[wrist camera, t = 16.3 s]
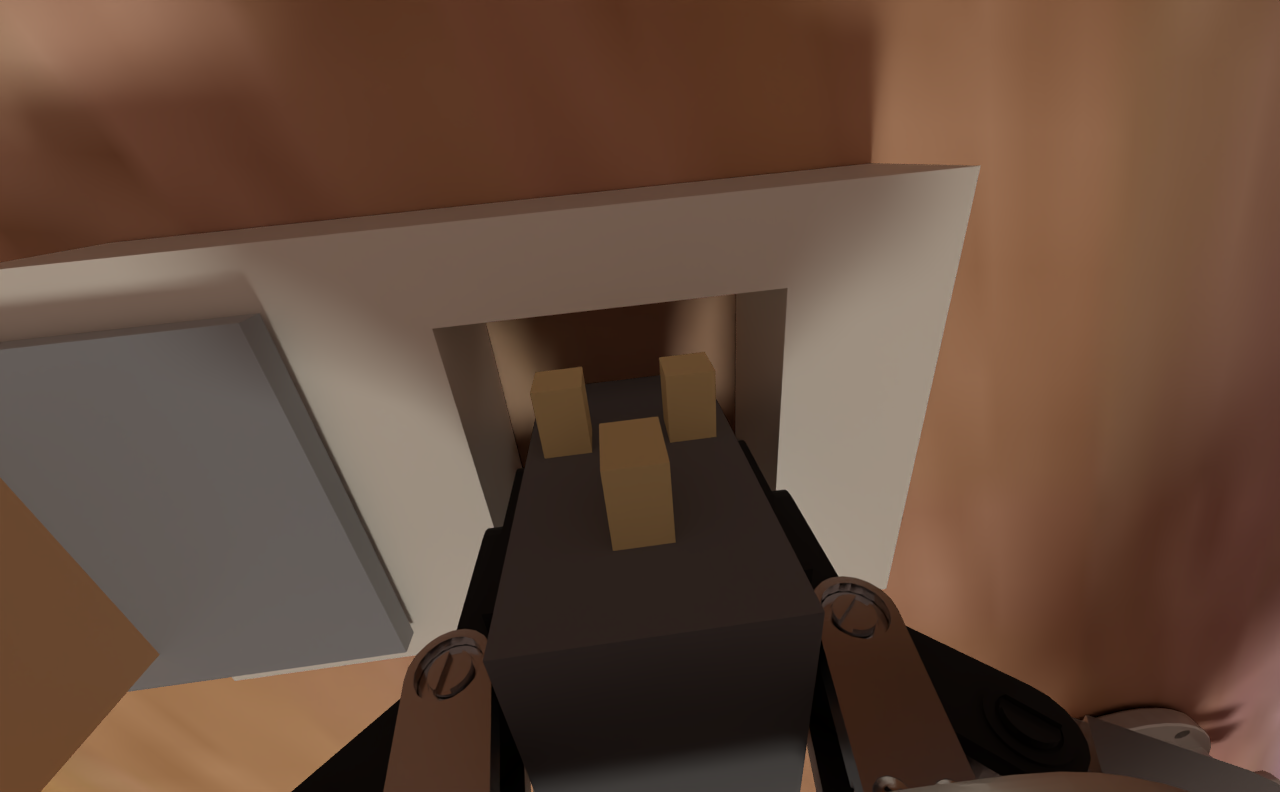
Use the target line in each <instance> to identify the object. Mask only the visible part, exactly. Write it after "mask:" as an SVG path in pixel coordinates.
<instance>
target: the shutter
mask: <svg viewBox="0 0 1280 792" xmlns="http://www.w3.org/2000/svg"><path fill="white" fill-rule="evenodd" d="M413 634H414V632H413V630H412V628H411V625H410V623H409V621H408V619H407V617H406V615H405V613H404V611H403V609H402V607H401V605H400V603H399V601H398V599H397V597H396V594H395V592H394V590H393V588H392V586H391V584H390V582H389V580H388V578H387V576H386V574H385V572H384V570H383V568H382V566H381V563H380V561H379V559H378V557H377V555H376V553H375V551H374V549H373V547H372V545H371V543H370V541H369V539H368V537H367V534H366V532H365V530H364V528H363V526H362V524H361V522H360V520H359V518H358V516H357V514H356V512H355V510H354V508H353V506H352V503H351V501H350V499H349V497H348V495H347V493H346V491H345V489H344V487H343V485H342V483H341V481H340V479H339V477H338V475H337V472H336V470H335V468H334V466H333V464H332V462H331V460H330V458H329V456H328V454H327V452H326V450H325V448H324V446H323V443H322V441H321V439H320V437H319V435H318V433H317V431H316V429H315V427H314V425H313V423H312V421H311V419H310V417H309V415H308V412H307V410H306V408H305V406H304V404H303V402H302V400H301V398H300V396H299V394H298V392H297V390H296V388H295V386H294V383H293V381H292V379H291V377H290V375H289V373H288V371H287V369H286V367H285V365H284V363H283V361H282V359H281V357H280V355H279V352H278V350H277V348H276V346H275V344H274V342H273V340H272V338H271V336H270V334H269V332H268V330H267V328H266V326H265V324H264V321H263V319H262V317H261V315H260V313H256V314H247V315H238V316H229V317H220V318H212V319H203V320H194V321H185V322H176V323H167V324H158V325H149V326H140V327H131V328H122V329H113V330H104V331H95V332H86V333H77V334H68V335H59V336H50V337H41V338H32V339H23V340H14V341H5V342H0V792H41V790H42V789H43V788H44V787H45V786H46V785H47V784H48V782H49V781H50V780H51V779H52V778H53V777H54V776H55V774H56V773H57V772H58V771H59V770H60V769H61V767H62V766H63V765H64V764H65V763H66V762H67V761H68V759H69V758H70V757H71V756H72V755H73V754H74V753H75V751H76V750H77V749H78V748H79V747H80V746H81V744H82V743H83V742H84V741H85V740H86V739H87V738H88V736H89V735H90V734H91V733H92V732H93V731H94V730H95V728H96V727H97V726H98V725H99V724H100V723H101V721H102V720H103V719H104V718H105V717H106V716H107V715H108V713H109V712H110V711H111V710H112V709H113V708H114V707H115V705H116V704H117V703H118V702H119V701H120V700H121V698H122V697H123V696H124V695H125V694H126V693H127V692H128V691H136V690H143V689H150V688H157V687H164V686H171V685H178V684H185V683H192V682H199V681H206V680H214V679H221V678H228V677H235V676H242V675H249V674H256V673H263V672H270V671H277V670H284V669H291V668H299V667H306V666H313V665H320V664H327V663H334V662H341V661H348V660H355V659H362V658H369V657H376V656H384V655H391V654H398V653H405V652H407V650H408V647H409V644H410V642H411V639H412V636H413Z"/></svg>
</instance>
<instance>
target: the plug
mask: <svg viewBox="0 0 1280 792" xmlns="http://www.w3.org/2000/svg"><path fill="white" fill-rule="evenodd" d="M659 365H660V375H658V376H650V377H641V378H633V379H625V380H617V381H608V382H600V383H592V384H585V381H584V375H583V369H582V367H575V368H567V369H558V370H550V371H542V372H535V376H534V380H533V384H532V388H531V391H530V395H531V400H532V404H533V409H534V413H535V423H534V427H533V432H532V437H531V441H530V446H529V451H528V455H527V460H526V464H525V469H524V474H523V478H522V483H521V487H520V492H519V497H518V501H517V506H516V510H515V515H514V520H513V524H512V529H511V533H510V538H509V543H508V547H507V552H506V556H505V561H504V566H503V570H502V575H501V579H500V584H499V589H498V593H497V598H496V602H495V607H494V612H493V616H492V621H491V625H490V630H489V635H488V639H487V644H486V648H485V653H484V658H483V663H484V666H485V668H486V671H487V673H488V676H489V678H490V681H491V683H492V686H493V688H494V691H495V693H496V696H497V699H498V701H499V704H500V706H501V709H502V711H503V714H504V716H505V719H506V721H507V724H508V726H509V729H510V731H511V734H512V736H513V739H514V741H515V744H516V746H517V749H518V751H519V754H520V756H521V759H522V761H523V764H524V766H525V769H526V771H527V774H528V776H529V779H530V781H531V784H532V787H533V789H534V792H800V788H801V781H802V774H803V767H804V760H805V753H806V745H807V738H808V731H809V724H810V717H811V710H812V702H813V695H814V688H815V681H816V674H817V667H818V660H819V652H820V645H821V638H822V631H823V624H824V617H825V611H824V609H823V607H822V605H821V603H820V601H819V599H818V597H817V595H816V593H815V592H814V590H813V588H812V586H811V584H810V582H809V580H808V578H807V576H806V574H805V572H804V570H803V568H802V566H801V564H800V562H799V560H798V558H797V556H796V554H795V552H794V550H793V548H792V546H791V545H790V543H789V541H788V539H787V537H786V535H785V533H784V531H783V529H782V527H781V525H780V523H779V521H778V519H777V517H776V515H775V513H774V511H773V509H772V507H771V505H770V503H769V501H768V499H767V498H766V496H765V494H764V492H763V490H762V488H761V486H760V484H759V482H758V480H757V478H756V476H755V474H754V472H753V470H752V468H751V466H750V464H749V462H748V460H747V458H746V456H745V454H744V453H743V451H742V449H741V447H740V445H739V443H738V441H737V439H736V437H735V435H734V433H733V431H732V429H731V427H730V425H729V423H728V421H727V419H726V417H725V415H724V413H723V411H722V409H721V407H720V406H719V404H718V402H717V400H716V384H715V369H714V368H713V366H712V364H711V362H710V361H709V359H708V357H707V355H706V354H705V352H700V353H692V354H683V355H675V356H667V357H659Z"/></svg>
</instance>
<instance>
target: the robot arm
mask: <svg viewBox="0 0 1280 792" xmlns="http://www.w3.org/2000/svg"><path fill="white" fill-rule="evenodd" d="M738 443H739V445H740V447H741V449H742V451H743V453H744V454H745V456H746V458H747V460H748V462H749V464H750V466H751V468H752V470H753V472H754V474H755V476H756V478H757V480H758V482H759V484H760V486H761V488H762V490H763V492H764V494H765V496H766V498H767V499H768V501H769V503H770V505H771V507H772V509H773V511H774V513H775V515H776V517H777V519H778V521H779V523H780V525H781V527H782V529H783V531H784V533H785V535H786V537H787V539H788V541H789V543H790V545H791V546H792V548H793V550H794V552H795V554H796V556H797V558H798V560H799V562H800V564H801V566H802V568H803V570H804V572H805V574H806V576H807V578H808V580H809V582H810V584H811V586H812V588H813V590H814V592H815V593H816V595H817V597H818V599H819V601H820V603H821V605H822V607H823V609H824V611H825V617H824V624H823V631H822V638H821V645H820V652H819V660H818V667H817V674H816V681H815V688H814V695H813V702H812V710H811V717H810V724H809V731H808V738H807V748H808V753H809V758H810V762H811V767H812V772H813V777H814V782H815V787H816V792H1280V780H1279V779H1277V778H1276V777H1275V776H1273V775H1272V774H1271V773H1268V772H1266V771H1263V770H1261V771H1255V772H1252V771H1249V770H1246V769H1243V768H1240V767H1238V766H1235V765H1232V764H1229V763H1226V762H1223V761H1220V760H1217V759H1214V758H1212V757H1211V756H1210V755H1209V752H1210V748H1211V743H1210V737H1209V736H1208V734H1207V733H1206V732H1205V731H1204V730H1203V729H1202V728H1201V727H1200V726H1199V725H1198V724H1197V723H1196V722H1195V721H1194V720H1192V719H1191V718H1190V717H1189V716H1187V715H1186V714H1185V713H1182V712H1178V711H1175V710H1172V709H1164V708H1138V709H1132V710H1126V711H1120V712H1116V713H1112V714H1108V715H1104V716H1100V717H1097V718H1094V717H1091V716H1088V715H1086V716H1085V717H1084V719H1083V720H1082V721H1081V720H1079V719H1076V718H1073V717H1071V716H1070V715H1069V714H1068V713H1067V712H1066V711H1065V710H1064V709H1063V708H1062V707H1061V706H1060V705H1058V704H1057V703H1056V702H1055V701H1054V700H1052V699H1051V698H1050V697H1049V696H1047V695H1045V694H1044V693H1042V692H1040V691H1039V690H1037V689H1035V688H1033V687H1032V686H1030V685H1028V684H1026V683H1024V682H1022V681H1019V680H1017V679H1015V678H1013V677H1011V676H1009V675H1007V674H1005V673H1003V672H1001V671H999V670H997V669H995V668H992V667H990V666H988V665H986V664H984V663H982V662H980V661H978V660H976V659H974V658H972V657H970V656H967V655H965V654H963V653H961V652H959V651H957V650H955V649H953V648H951V647H949V646H947V645H945V644H943V643H940V642H938V641H936V640H934V639H932V638H930V637H928V636H926V635H924V634H922V633H920V632H918V631H915V630H913V629H911V628H909V627H907V626H906V625H905V623H904V621H903V619H902V617H901V615H900V612H899V610H898V609H897V607H896V606H895V604H894V602H893V601H892V599H891V598H890V597H889V596H888V595H886V594H885V593H884V592H883V591H882V590H881V589H879V588H878V587H876V586H874V585H873V584H871V583H869V582H867V581H864V580H861V579H858V578H854V577H846V576H840V577H839V576H838V575H837V573H836V571H835V569H834V568H833V566H832V564H831V563H830V561H829V559H828V558H827V556H826V554H825V552H824V551H823V549H822V547H821V546H820V544H819V542H818V540H817V539H816V537H815V535H814V534H813V532H812V530H811V528H810V527H809V525H808V523H807V522H806V520H805V518H804V517H803V515H802V513H801V511H800V510H799V508H798V506H797V505H796V503H795V501H794V499H793V498H792V496H791V495H790V493H789V492H788V491H787V490H785V489H784V490H776V491H771V489H770V487H769V485H768V483H767V481H766V479H765V477H764V476H763V474H762V472H761V470H760V468H759V466H758V464H757V463H756V461H755V459H754V457H753V455H752V453H751V451H750V449H749V448H748V446H747V444H746V442H745V441H744V440H740V441H738ZM524 469H525V468H519V469H517V471H516V474H515V478H514V482H513V486H512V490H511V494H510V499H509V503H508V507H507V511H506V515H505V519H504V523H503V527H495V528H488V529H487V530H486V531H485V533H484V536H483V539H482V543H481V546H480V550H479V553H478V557H477V560H476V564H475V567H474V571H473V574H472V578H471V581H470V585H469V588H468V592H467V595H466V599H465V602H464V605H463V609H462V612H461V616H460V619H459V623H458V626H457V630H453V631H450V632H448V633H445V634H443V635H440V636H439V637H437V638H436V639H434V640H433V641H431V642H430V643H428V644H427V645H426V646H425V647H424V648H423V649H422V650H421V651H420V652H419V653H418V654H417V655H416V656H415V658H414V659H413V661H412V662H411V664H410V666H409V667H408V670H407V673H406V675H405V678H404V682H403V687H402V693H401V698H400V699H399V700H398V701H397V702H396V703H395V704H394V705H392V706H391V707H390V708H389V709H388V710H387V711H385V712H384V713H383V714H382V715H381V716H379V717H378V718H377V719H376V720H375V721H374V722H372V723H371V724H370V725H369V726H368V727H367V728H365V729H364V730H363V731H362V732H361V733H360V734H358V735H357V736H356V737H355V738H354V739H353V740H351V741H350V742H349V743H348V744H347V745H346V746H344V747H343V748H342V749H341V750H340V751H339V752H337V753H336V754H335V755H334V756H333V757H332V758H330V759H329V760H328V761H327V762H326V763H324V764H323V765H322V766H321V767H320V768H319V769H317V770H316V771H315V772H314V773H313V774H312V775H310V776H309V777H308V778H307V779H306V780H305V781H303V782H302V783H301V784H300V785H299V786H298V787H296V788H295V789H294V790H293V791H292V792H531V782H530V779H529V776H528V774H527V771H526V769H525V766H524V764H523V761H522V759H521V756H520V754H519V751H518V749H517V746H516V744H515V741H514V739H513V736H512V734H511V731H510V729H509V726H508V724H507V721H506V719H505V716H504V714H503V711H502V709H501V706H500V704H499V701H498V699H497V696H496V693H495V691H494V688H493V686H492V683H491V681H490V678H489V676H488V673H487V671H486V668H485V666H484V663H483V658H484V653H485V648H486V644H487V639H488V635H489V630H490V625H491V621H492V616H493V612H494V607H495V602H496V598H497V593H498V589H499V584H500V579H501V575H502V570H503V566H504V561H505V556H506V552H507V547H508V543H509V538H510V533H511V529H512V524H513V520H514V515H515V510H516V506H517V501H518V497H519V492H520V487H521V483H522V478H523V474H524Z"/></svg>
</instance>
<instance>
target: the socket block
mask: <svg viewBox="0 0 1280 792" xmlns="http://www.w3.org/2000/svg"><path fill="white" fill-rule="evenodd" d="M979 171H980V166H971V165H927V164H883V163H870V164H860V165H851V166H841V167H831V168H822V169H812V170H803V171H793V172H784V173H774V174H764V175H755V176H745V177H736V178H726V179H717V180H707V181H697V182H688V183H678V184H669V185H659V186H649V187H640V188H630V189H621V190H611V191H602V192H592V193H582V194H573V195H563V196H554V197H544V198H535V199H525V200H515V201H506V202H496V203H487V204H477V205H467V206H458V207H448V208H439V209H429V210H420V211H410V212H400V213H391V214H381V215H372V216H362V217H353V218H343V219H333V220H324V221H314V222H305V223H295V224H286V225H276V226H266V227H257V228H247V229H238V230H228V231H218V232H209V233H199V234H190V235H180V236H171V237H161V238H151V239H142V240H132V241H123V242H113V243H107V244H101V245H95V246H90V247H84V248H78V249H73V250H67V251H62V252H56V253H50V254H45V255H39V256H34V257H28V258H22V259H17V260H11V261H6V262H0V342H5V341H14V340H23V339H32V338H41V337H50V336H59V335H68V334H77V333H86V332H95V331H104V330H113V329H122V328H131V327H140V326H149V325H158V324H167V323H176V322H185V321H194V320H203V319H212V318H220V317H229V316H238V315H247V314H256V313H260V315H261V317H262V319H263V321H264V324H265V326H266V328H267V330H268V332H269V334H270V336H271V338H272V340H273V342H274V344H275V346H276V348H277V350H278V352H279V355H280V357H281V359H282V361H283V363H284V365H285V367H286V369H287V371H288V373H289V375H290V377H291V379H292V381H293V383H294V386H295V388H296V390H297V392H298V394H299V396H300V398H301V400H302V402H303V404H304V406H305V408H306V410H307V412H308V415H309V417H310V419H311V421H312V423H313V425H314V427H315V429H316V431H317V433H318V435H319V437H320V439H321V441H322V443H323V446H324V448H325V450H326V452H327V454H328V456H329V458H330V460H331V462H332V464H333V466H334V468H335V470H336V472H337V475H338V477H339V479H340V481H341V483H342V485H343V487H344V489H345V491H346V493H347V495H348V497H349V499H350V501H351V503H352V506H353V508H354V510H355V512H356V514H357V516H358V518H359V520H360V522H361V524H362V526H363V528H364V530H365V532H366V534H367V537H368V539H369V541H370V543H371V545H372V547H373V549H374V551H375V553H376V555H377V557H378V559H379V561H380V563H381V566H382V568H383V570H384V572H385V574H386V576H387V578H388V580H389V582H390V584H391V586H392V588H393V590H394V592H395V594H396V597H397V599H398V601H399V603H400V605H401V607H402V609H403V611H404V613H405V615H406V617H407V619H408V621H409V623H410V625H411V628H412V630H413V632H414V634H413V636H412V639H411V642H410V644H409V647H408V650H407V652H405V653H398V654H391V655H384V656H376V657H369V658H362V659H355V660H348V661H341V662H334V663H327V664H320V665H313V666H306V667H299V668H291V669H284V670H277V671H270V672H263V673H256V674H249V675H242V676H235V677H232V678H233V679H234V680H235V681H237V680H244V679H251V678H258V677H265V676H272V675H279V674H287V673H294V672H301V671H308V670H315V669H322V668H329V667H336V666H343V665H350V664H357V663H364V662H371V661H378V660H386V659H393V658H400V657H407V656H414V655H417V654H418V653H419V652H420V651H421V650H422V649H423V648H424V647H425V646H426V645H427V644H428V643H430V642H431V641H433V640H434V639H436V638H437V637H439V636H440V635H443V634H445V633H448V632H450V631H453V630H457V626H458V623H459V619H460V616H461V612H462V609H463V605H464V602H465V599H466V595H467V592H468V588H469V585H470V581H471V578H472V574H473V571H474V567H475V564H476V560H477V557H478V553H479V550H480V546H481V543H482V539H483V536H484V533H485V531H486V530H487V529H488V528H495V527H503V523H504V519H505V515H506V511H507V507H508V503H509V499H510V494H511V490H512V486H513V482H514V478H515V474H516V471H517V469H519V468H522V465H521V461H520V457H519V453H518V449H517V445H516V441H515V437H514V433H513V429H512V426H511V422H510V418H509V414H508V410H507V406H506V402H505V398H504V394H503V390H502V386H501V382H500V378H499V374H498V370H497V367H496V363H495V359H494V355H493V351H492V347H491V343H490V339H489V335H488V331H487V327H486V322H494V321H503V320H512V319H521V318H529V317H538V316H547V315H556V314H564V313H573V312H582V311H591V310H599V309H608V308H617V307H626V306H634V305H643V304H652V303H661V302H669V301H678V300H687V299H695V298H704V297H713V296H722V295H730V294H736V381H735V437H736V439H737V441H740V440H744V441H745V442H746V444H747V446H748V448H749V449H750V451H751V453H752V455H753V457H754V459H755V461H756V463H757V464H758V466H759V468H760V470H761V472H762V474H763V476H764V477H765V479H766V481H767V483H768V485H769V487H770V489H771V491H776V490H784V489H785V490H787V491H788V492H789V493H790V495H791V496H792V498H793V499H794V501H795V503H796V505H797V506H798V508H799V510H800V511H801V513H802V515H803V517H804V518H805V520H806V522H807V523H808V525H809V527H810V528H811V530H812V532H813V534H814V535H815V537H816V539H817V540H818V542H819V544H820V546H821V547H822V549H823V551H824V552H825V554H826V556H827V558H828V559H829V561H830V563H831V564H832V566H833V568H834V569H835V571H836V573H837V575H838V576H839V577H840V576H846V577H854V578H858V579H861V580H864V581H867V582H869V583H871V584H873V585H874V586H876V587H878V588H879V589H886V587H887V583H888V578H889V574H890V569H891V565H892V560H893V556H894V551H895V547H896V542H897V538H898V533H899V529H900V525H901V520H902V516H903V511H904V507H905V502H906V498H907V493H908V489H909V484H910V480H911V475H912V471H913V466H914V462H915V457H916V453H917V448H918V444H919V439H920V435H921V430H922V426H923V421H924V417H925V412H926V408H927V404H928V399H929V395H930V390H931V386H932V381H933V377H934V372H935V368H936V363H937V359H938V354H939V350H940V345H941V341H942V336H943V332H944V327H945V323H946V318H947V314H948V309H949V305H950V300H951V296H952V291H953V287H954V283H955V278H956V274H957V269H958V265H959V260H960V256H961V251H962V247H963V242H964V238H965V233H966V229H967V224H968V220H969V215H970V211H971V206H972V202H973V197H974V193H975V188H976V184H977V179H978V175H979Z"/></svg>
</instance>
